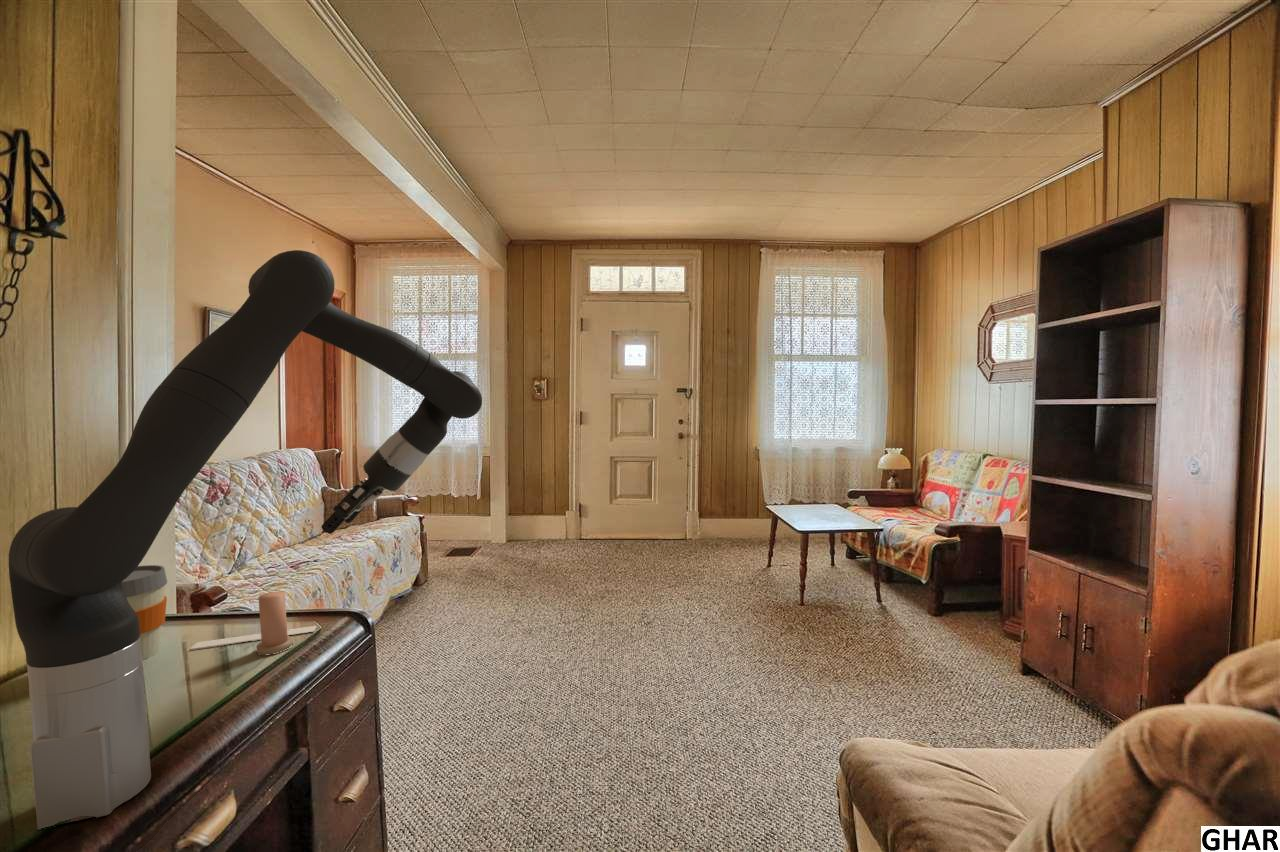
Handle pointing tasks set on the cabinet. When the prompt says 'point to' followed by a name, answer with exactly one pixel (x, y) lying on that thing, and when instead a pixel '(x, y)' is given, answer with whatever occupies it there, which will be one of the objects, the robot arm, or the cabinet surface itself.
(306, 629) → the strip
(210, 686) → the cabinet surface
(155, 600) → the reusable coffee cup
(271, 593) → the pin
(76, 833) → the cabinet surface
